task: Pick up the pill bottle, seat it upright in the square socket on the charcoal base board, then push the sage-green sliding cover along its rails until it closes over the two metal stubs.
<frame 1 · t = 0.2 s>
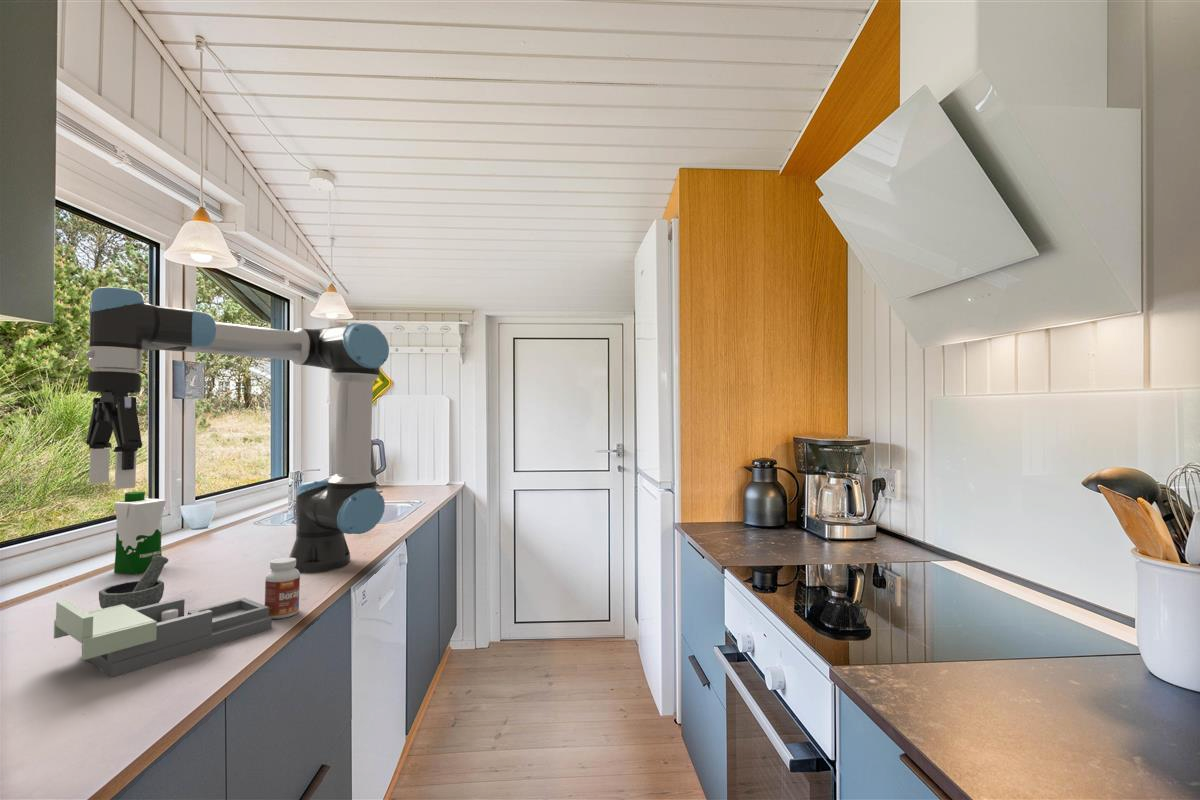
hand: (111, 485, 103), 28 cm above the countertop, fingers open, 13 cm apart
cover: (105, 620, 91), point 7 cm above the countertop, slide at 8.0 cm
mortar and pestle: (135, 621, 110), on the countertop
housing base: (182, 640, 100), on the countertop
milk carton: (138, 570, 145), on the countertop
pill bottle: (281, 615, 114), on the countertop
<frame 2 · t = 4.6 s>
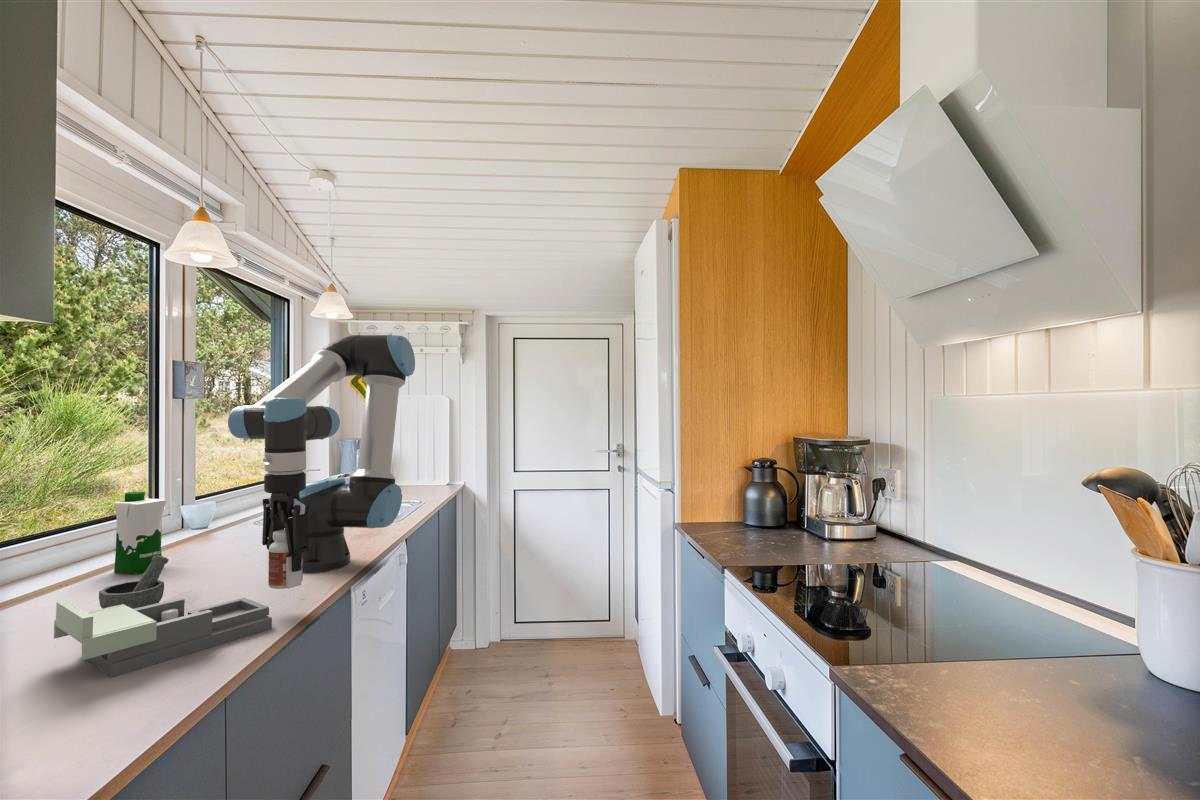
hand: (284, 583, 115), 6 cm above the countertop, fingers closed on pill bottle, 6 cm apart
pill bottle: (285, 585, 115), point 6 cm above the countertop, touching gripper
everything else where it was.
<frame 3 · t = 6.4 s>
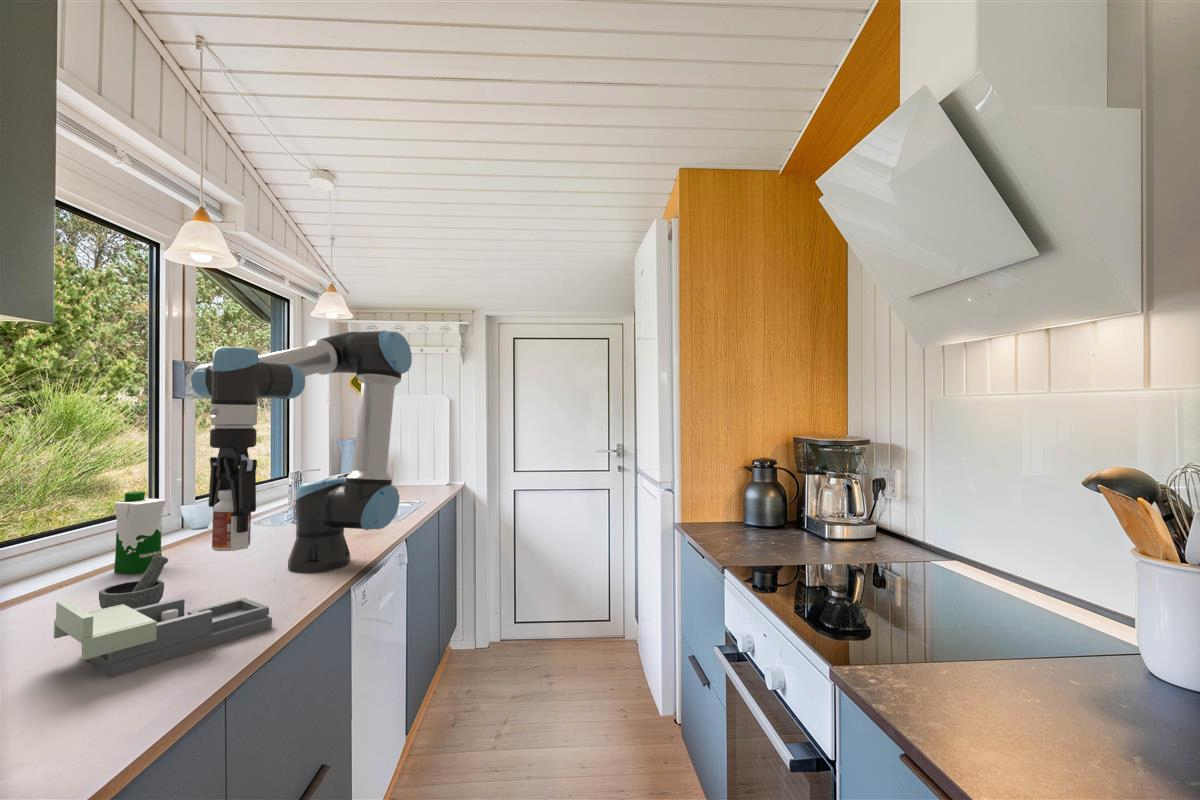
hand: (230, 546, 107), 15 cm above the countertop, fingers closed on pill bottle, 6 cm apart
pill bottle: (231, 549, 107), point 15 cm above the countertop, touching gripper
everything else where it was.
when the fingers open (5 cm above the countertop, at t = 8.5 s): pill bottle drops 2 cm, resting on housing base.
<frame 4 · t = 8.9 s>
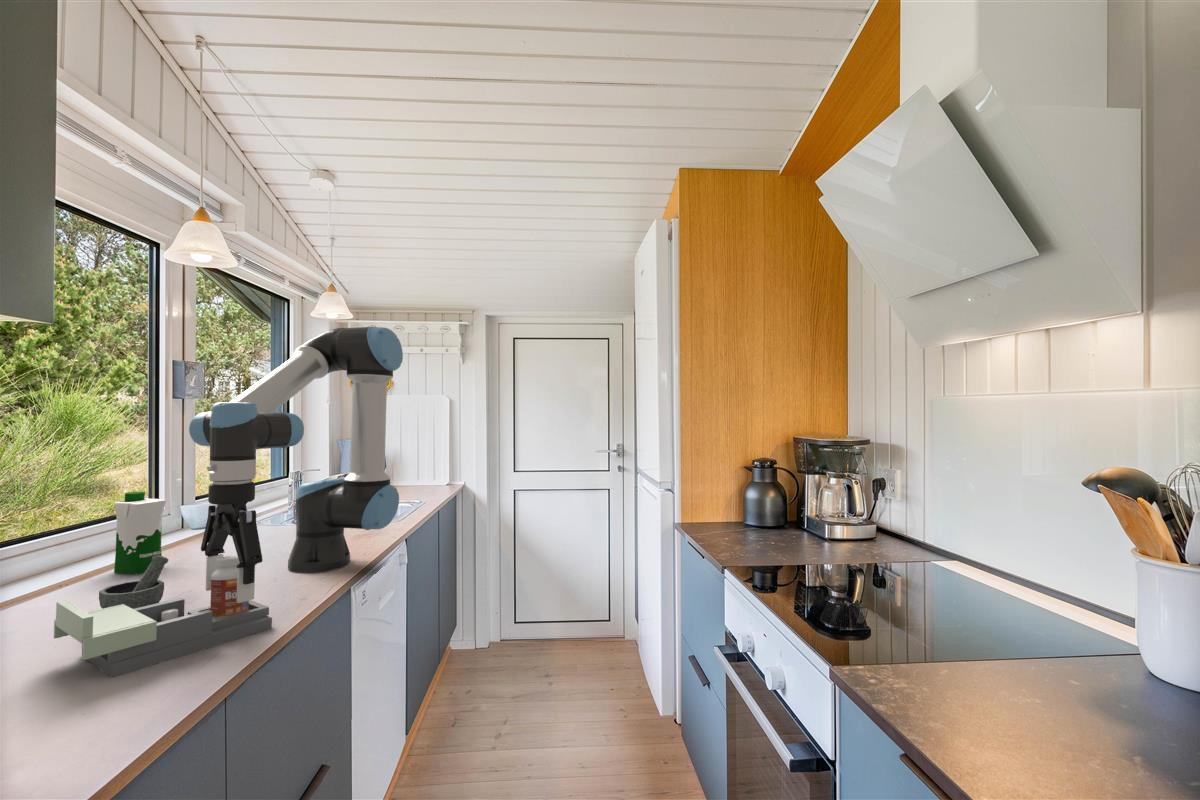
hand: (229, 594, 107), 6 cm above the countertop, fingers open, 12 cm apart
pill bottle: (229, 616, 107), point 2 cm above the countertop, touching housing base
everything else where it was.
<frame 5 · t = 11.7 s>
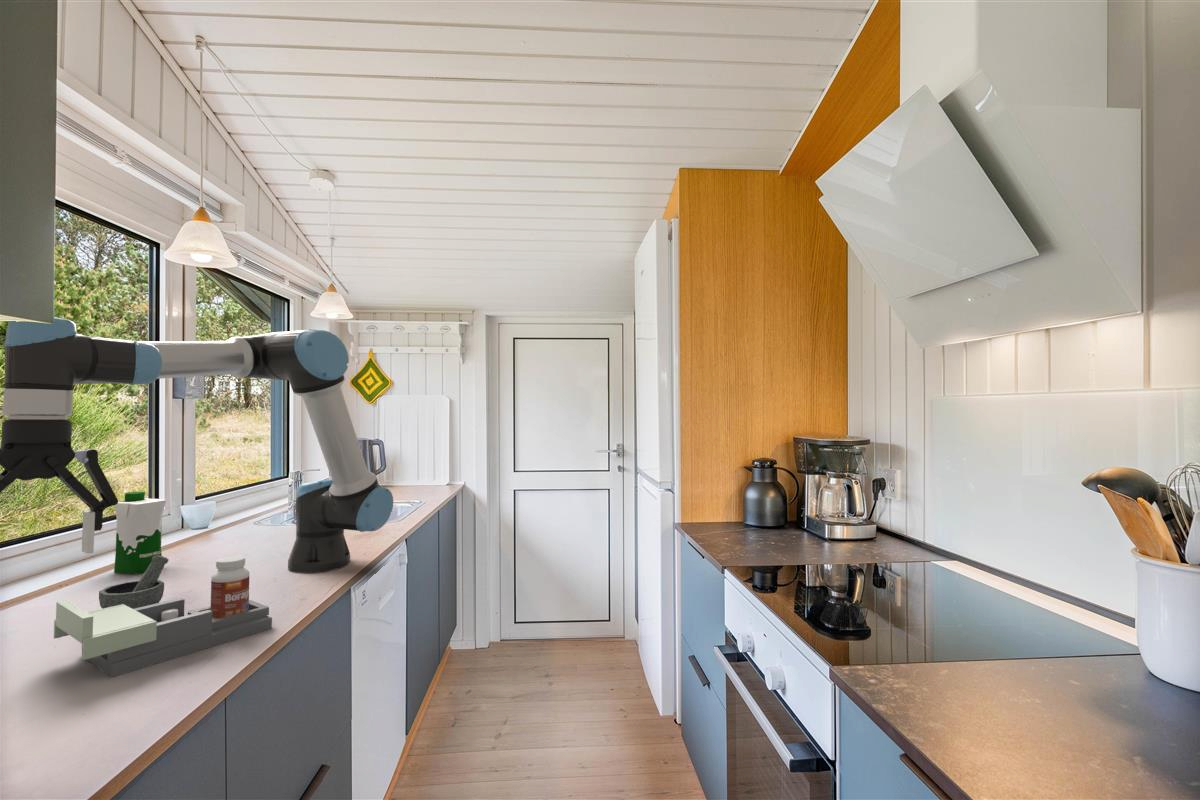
hand: (32, 560, 84), 19 cm above the countertop, fingers open, 12 cm apart
nothing on the countertop moved.
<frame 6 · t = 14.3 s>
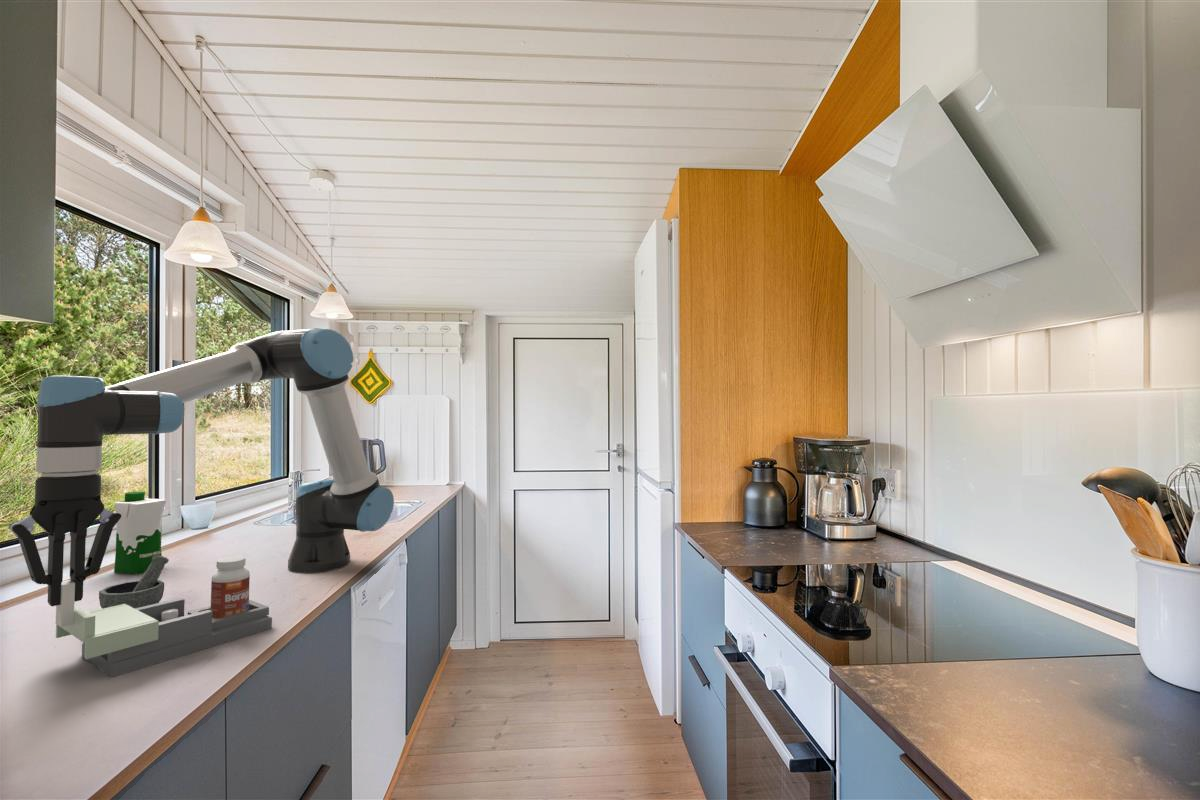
hand: (64, 624, 87), 8 cm above the countertop, fingers closed
cover: (107, 620, 91), point 7 cm above the countertop, slide at 7.7 cm, touching gripper
everything else where it was.
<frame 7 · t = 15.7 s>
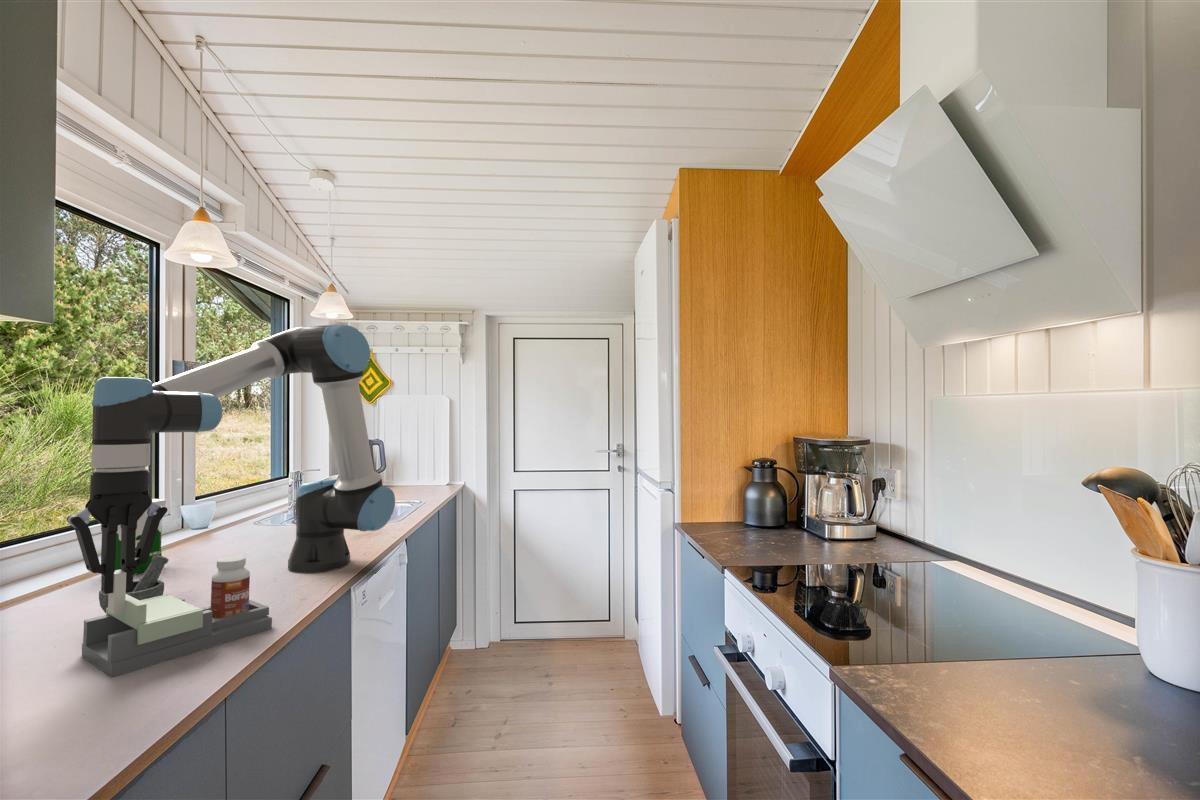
hand: (116, 611, 92), 8 cm above the countertop, fingers closed
cover: (154, 608, 97), point 7 cm above the countertop, slide at 1.4 cm, touching gripper
everything else where it was.
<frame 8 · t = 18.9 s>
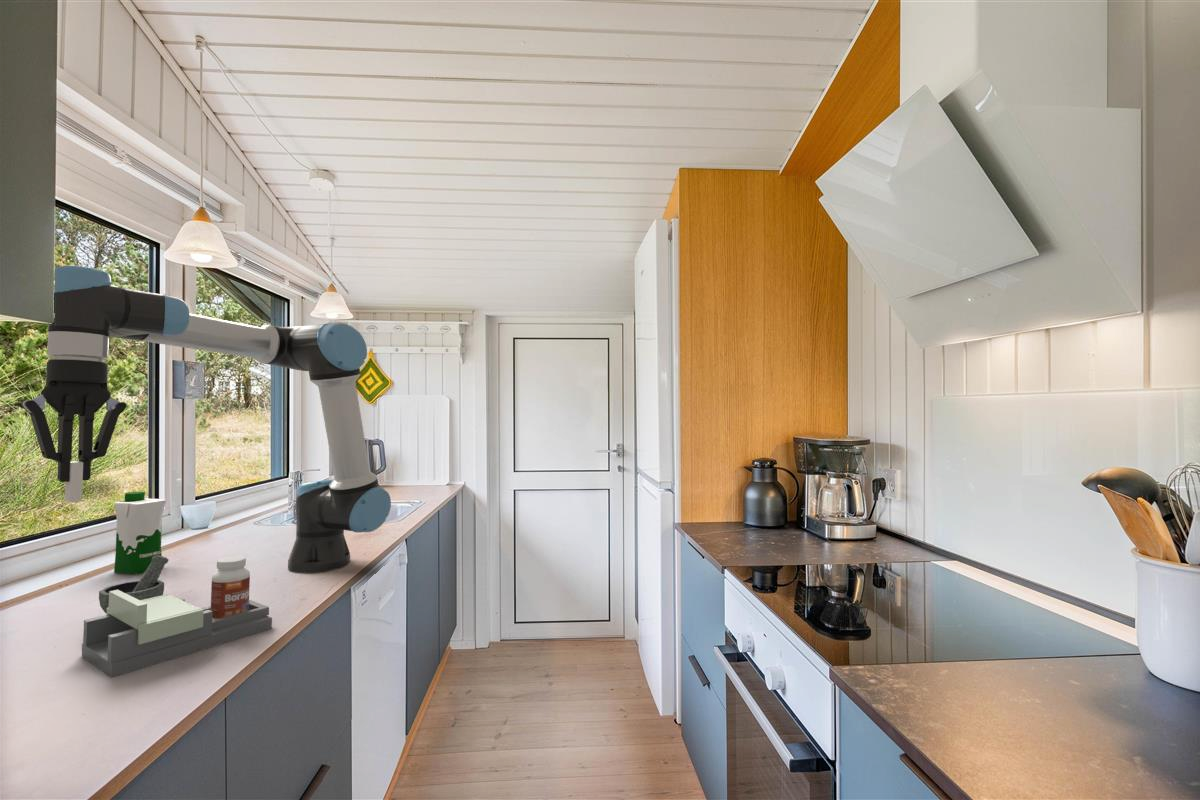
hand: (73, 500, 92), 26 cm above the countertop, fingers closed
cover: (155, 608, 97), point 7 cm above the countertop, slide at 1.3 cm
everything else where it was.
at the end: pill bottle 0.2 cm from the target spot on the housing base, point 1.8 cm above the housing base's base; pill bottle tilted 0°; cover slide at 1.3 cm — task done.
